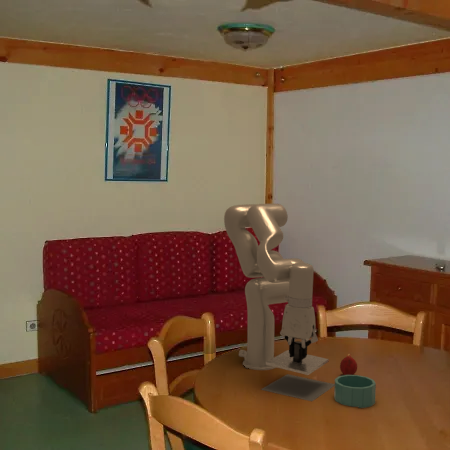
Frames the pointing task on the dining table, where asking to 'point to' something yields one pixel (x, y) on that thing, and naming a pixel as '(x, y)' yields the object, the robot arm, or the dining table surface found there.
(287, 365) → the lid
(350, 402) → the bowl
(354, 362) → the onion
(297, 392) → the mat
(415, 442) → the dining table surface
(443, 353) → the dining table surface
